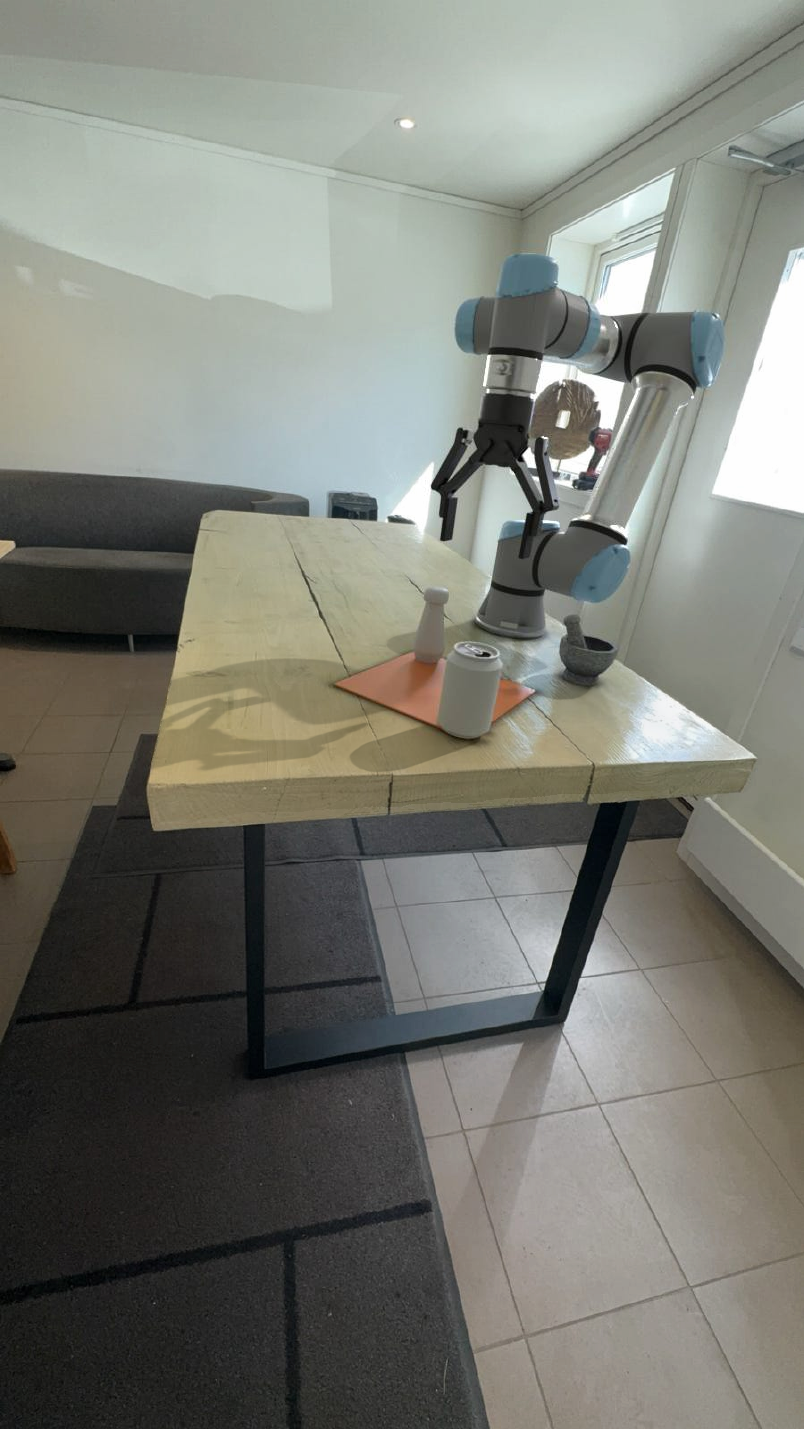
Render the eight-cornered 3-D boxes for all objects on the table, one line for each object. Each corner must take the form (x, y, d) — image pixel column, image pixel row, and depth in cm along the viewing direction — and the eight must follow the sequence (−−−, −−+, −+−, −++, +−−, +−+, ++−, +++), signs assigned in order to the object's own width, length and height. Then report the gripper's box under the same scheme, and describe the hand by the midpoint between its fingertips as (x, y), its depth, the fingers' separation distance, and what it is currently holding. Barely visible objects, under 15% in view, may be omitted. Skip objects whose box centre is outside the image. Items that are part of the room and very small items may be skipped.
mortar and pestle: (587, 668, 112) (603, 607, 107) (618, 688, 105) (637, 623, 99) (536, 669, 109) (551, 606, 103) (565, 690, 101) (582, 623, 96)
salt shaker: (440, 667, 103) (451, 595, 97) (408, 662, 103) (417, 589, 98) (444, 657, 108) (455, 587, 102) (414, 651, 109) (423, 582, 103)
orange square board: (417, 651, 110) (417, 649, 110) (535, 691, 99) (536, 690, 99) (333, 685, 92) (333, 683, 91) (467, 740, 80) (467, 738, 80)
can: (474, 747, 78) (491, 663, 73) (426, 728, 81) (438, 647, 76) (497, 728, 84) (514, 649, 79) (451, 711, 87) (464, 634, 82)
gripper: (419, 385, 85) (404, 535, 94) (587, 399, 73) (550, 569, 83) (445, 390, 91) (428, 531, 100) (604, 404, 79) (568, 562, 89)
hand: (483, 548), depth 92 cm, fingers open, 13 cm apart
